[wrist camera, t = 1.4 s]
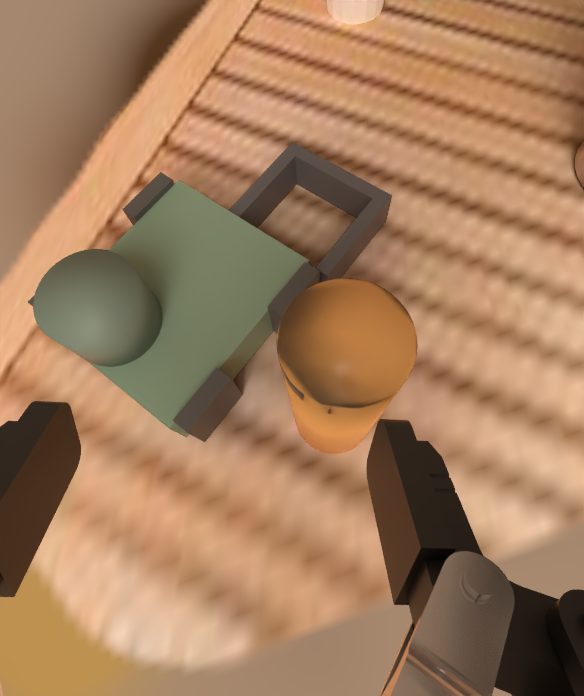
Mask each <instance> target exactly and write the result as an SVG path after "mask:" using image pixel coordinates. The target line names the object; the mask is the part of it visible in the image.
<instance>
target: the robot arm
mask: <svg viewBox="0 0 584 696" xmlns="http://www.w3.org/2000/svg"><path fill="white" fill-rule="evenodd" d="M575 169H576V173H577V177H578V179H579V181H580V182H581V184H582V186H583V187H584V141H583V142H582V144H581V145H580V147H579V148H578V150H577V153H576V156H575ZM80 455H81V444H80V440H79V436H78V433H77V429H76V425H75V422H74V418H73V414H72V411H71V407H70V405H69V404H68V403H64V402H44V401H34V402H32V403H31V404H30V405H29V406H28V408H27V409H26V410H25V412H24V413H23V415H22V416H21V417H20V419H19V420H18V421H8V422H6V423H5V424H4V425H2V426H1V427H0V597H14V596H15V594H16V592H17V590H18V588H19V586H20V584H21V582H22V580H23V578H24V576H25V574H26V572H27V570H28V568H29V566H30V564H31V562H32V560H33V558H34V556H35V553H36V551H37V549H38V547H39V545H40V543H41V541H42V539H43V537H44V535H45V533H46V531H47V529H48V527H49V525H50V523H51V521H52V519H53V517H54V515H55V513H56V510H57V508H58V506H59V504H60V502H61V500H62V498H63V496H64V494H65V492H66V490H67V488H68V486H69V484H70V482H71V480H72V478H73V476H74V474H75V472H76V469H77V467H78V464H79V461H80ZM367 480H368V485H369V489H370V494H371V499H372V504H373V508H374V513H375V518H376V522H377V527H378V532H379V536H380V541H381V546H382V551H383V555H384V560H385V565H386V569H387V574H388V579H389V583H390V588H391V593H392V598H393V602H394V605H409V607H410V611H411V615H412V620H413V621H412V623H411V624H410V627H409V629H408V631H407V634H406V636H405V638H404V640H403V643H402V645H401V647H400V649H399V652H398V654H397V656H396V659H395V661H394V663H393V665H392V668H391V670H390V673H389V675H388V677H387V679H386V681H385V684H384V686H383V688H382V690H381V693H380V695H379V696H492V693H493V689H494V687H496V688H498V689H500V690H503V691H506V692H508V693H510V694H511V695H512V696H584V590H570V591H568V592H566V593H564V594H563V596H562V597H561V598H560V599H556V598H553V597H550V596H547V595H544V594H542V593H538V592H536V591H533V590H530V589H527V588H524V587H522V586H519V585H517V584H515V583H513V582H511V581H509V580H508V579H507V577H506V576H505V574H504V573H503V572H502V571H501V570H500V568H499V567H497V566H496V565H495V564H494V563H493V562H492V561H490V560H489V559H487V558H486V557H484V556H483V554H482V552H481V550H480V548H479V546H478V544H477V541H476V539H475V536H474V534H473V531H472V529H471V527H470V524H469V522H468V519H467V517H466V514H465V512H464V510H463V507H462V505H461V502H460V500H459V497H458V495H457V493H455V488H454V485H453V483H452V480H451V478H449V473H448V471H447V468H446V466H445V463H444V461H443V459H442V457H441V455H440V454H439V453H438V452H437V451H436V450H435V449H434V448H433V446H432V445H431V444H430V443H429V442H428V441H417V439H416V437H415V434H414V431H413V428H412V426H411V424H410V422H409V421H407V420H387V419H380V420H379V421H378V424H377V427H376V430H375V434H374V437H373V441H372V444H371V448H370V451H369V455H368V459H367ZM0 696H3V693H2V687H1V683H0Z"/></svg>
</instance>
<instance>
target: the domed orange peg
mask: <svg viewBox="0 0 584 696" xmlns="http://www.w3.org/2000/svg"><path fill="white" fill-rule="evenodd" d="M277 352H278V357H279V361H280V365H281V368H282V372H283V376H284V380H285V383H286V387H287V391H288V394H289V398H290V402H291V406H292V409H293V413H294V417H295V420H296V424H297V427H298V430H299V432H300V434H301V436H302V437H303V439H304V440H305V441H306V442H307V443H308V444H309V445H310V446H312V447H313V448H315V449H317V450H319V451H321V452H324V453H330V454H337V453H343V452H346V451H349V450H351V449H353V448H354V447H356V446H357V445H358V444H359V443H360V442H361V441H362V440H363V439H364V438H365V436H366V435H367V434H368V432H369V431H370V429H371V428H372V427H373V425H374V424H375V422H376V421H377V420H378V418H379V417H380V416H381V414H382V413H383V411H384V410H385V409H386V407H387V406H388V405H389V403H390V402H391V400H392V399H393V398H394V396H395V395H396V394H397V392H398V391H399V389H400V388H401V387H402V385H403V384H404V383H405V381H406V380H407V378H408V376H409V375H410V373H411V371H412V368H413V366H414V363H415V359H416V355H417V336H416V331H415V327H414V324H413V321H412V319H411V317H410V315H409V313H408V312H407V310H406V309H405V307H404V306H403V305H402V304H401V303H400V301H399V300H398V299H397V298H395V297H394V296H393V295H392V294H391V293H389V292H388V291H386V290H385V289H383V288H381V287H379V286H377V285H375V284H373V283H370V282H367V281H363V280H358V279H347V278H342V279H333V280H328V281H324V282H321V283H318V284H316V285H314V286H312V287H310V288H308V289H307V290H305V291H304V292H302V293H301V294H300V295H299V296H297V297H296V298H295V299H294V300H293V301H292V302H291V304H290V305H289V306H288V308H287V309H286V311H285V313H284V315H283V316H282V319H281V321H280V324H279V328H278V332H277Z"/></svg>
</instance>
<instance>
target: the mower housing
mask: <svg viewBox="0 0 584 696" xmlns="http://www.w3.org/2000/svg"><path fill="white" fill-rule="evenodd" d="M296 184H298V185H300V186H301V187H303V188H305V189H307V190H308V191H310V192H312V193H314V194H315V195H317V196H319V197H321V198H323V199H324V200H326V201H328V202H330V203H331V204H333V205H335V206H337V207H338V208H340V209H342V210H344V211H345V212H347V213H349V214H351V215H352V216H354V217H356V219H355V221H354V222H353V223H352V224H351V226H350V227H349V228H348V229H347V230H346V232H345V233H344V234H343V235H342V236H341V238H340V239H339V240H338V241H337V243H336V244H335V245H334V246H333V247H332V249H331V250H330V251H329V252H328V254H327V255H326V256H325V257H324V258H323V260H322V261H321V262H320V263H319V264H318V266H317V267H316V268H314V267H312V266H311V265H310V263H309V260H308V259H306V258H305V257H303V256H301V255H300V254H298V253H296V252H295V251H293V250H292V249H290V248H288V247H287V246H285V245H283V244H282V243H280V242H279V241H277V240H275V239H274V238H272V237H271V236H269V235H267V234H266V233H264V232H262V231H261V230H259V229H258V227H259V226H260V224H261V223H262V222H263V221H264V220H265V219H266V218H267V217H268V216H269V214H270V213H271V212H272V211H273V210H274V209H275V208H276V207H277V206H278V204H279V203H280V202H281V201H282V200H283V199H284V198H285V197H286V196H287V194H288V193H289V192H290V191H291V190H292V189H293V188H294V187H295V185H296ZM391 198H392V195H390V194H388V193H386V192H384V191H383V190H381V189H379V188H377V187H375V186H373V185H371V184H370V183H368V182H366V181H364V180H362V179H360V178H358V177H357V176H355V175H353V174H351V173H349V172H347V171H345V170H344V169H342V168H340V167H338V166H336V165H334V164H332V163H331V162H329V161H327V160H325V159H323V158H321V157H319V156H318V155H316V154H314V153H312V152H310V151H308V150H306V149H304V148H303V147H301V146H299V145H297V144H295V143H293V142H292V143H291V144H290V145H289V146H288V147H287V148H286V150H285V151H284V152H283V153H282V154H281V155H280V156H279V157H278V158H277V159H276V160H275V161H274V162H273V163H272V164H271V166H270V167H269V168H268V169H267V170H266V171H265V172H264V173H263V174H262V175H261V176H260V177H259V178H258V179H257V181H256V182H255V183H254V184H253V185H252V186H251V187H250V188H249V189H248V190H247V191H246V192H245V193H244V194H243V196H242V197H241V198H240V199H239V200H238V201H237V202H236V203H235V204H234V205H233V206H232V207H231V208H230V209H229V211H228V210H227V209H225V208H224V207H222V206H220V205H219V204H217V203H216V202H214V201H212V200H211V199H209V198H207V197H206V196H204V195H203V194H201V193H199V192H198V191H196V190H194V189H193V188H191V187H190V186H188V185H186V184H185V183H183V182H182V181H180V180H179V181H178V182H177V183H176V184H174V182H173V180H172V179H171V178H169V177H167V176H166V175H164V174H163V173H161V172H160V173H159V174H158V175H157V176H156V177H155V178H154V179H153V180H152V181H151V182H150V183H149V184H148V185H147V186H146V187H145V188H144V189H143V190H142V191H141V192H140V193H139V194H138V195H137V196H136V197H135V198H134V199H133V200H132V201H131V202H130V203H129V204H128V205H127V206H126V207H125V208H123V211H124V212H125V214H126V215H127V217H128V218H129V220H130V221H131V223H132V224H133V227H131V228H130V229H129V230H128V231H127V232H126V233H125V234H124V235H123V236H122V237H121V238H120V239H119V240H118V241H117V242H116V243H115V244H114V245H113V246H112V247H111V248H110V249H109V250H102V249H91V250H84V251H80V252H77V253H74V254H72V255H69V256H67V257H65V258H64V259H62V260H60V261H59V262H58V263H56V264H55V265H54V266H53V267H52V268H51V269H50V270H49V271H48V272H47V273H46V274H45V275H44V277H43V278H42V280H41V281H40V283H39V285H38V287H37V290H36V293H35V295H34V296H33V297H32V298H31V299H30V300H29V301H28V303H29V304H31V305H32V306H33V310H34V316H35V319H36V322H37V324H38V326H39V327H40V329H41V330H42V331H43V332H44V333H45V334H46V335H47V336H49V337H50V338H51V339H53V340H55V341H56V342H58V343H60V344H61V345H63V346H64V347H66V348H68V349H69V350H71V351H73V352H74V353H76V354H77V355H79V356H81V357H82V358H84V359H86V360H87V361H88V362H89V363H91V364H92V365H93V366H94V367H95V368H97V369H98V370H99V371H100V372H101V373H103V374H104V375H105V376H106V377H107V378H109V379H110V380H111V381H112V382H114V383H115V384H116V385H117V386H118V387H120V388H121V389H122V390H123V391H124V392H126V393H127V394H128V395H129V396H130V397H132V398H133V399H134V400H135V401H137V402H138V403H139V404H140V405H141V406H143V407H144V408H145V409H146V410H147V411H149V412H150V413H151V414H152V415H154V416H155V417H156V418H157V419H158V420H160V421H161V422H162V423H163V424H164V425H166V426H167V427H168V428H169V429H171V430H173V431H175V432H177V433H179V434H181V435H183V436H185V437H187V436H188V435H189V434H191V435H193V436H195V437H196V438H198V439H200V440H202V441H204V442H205V441H206V440H207V439H208V438H209V436H210V435H211V434H212V433H213V431H214V430H215V429H216V428H217V426H218V425H219V424H220V423H221V421H222V420H223V419H224V418H225V416H226V415H227V414H228V413H229V411H230V410H231V409H232V407H233V406H234V405H235V404H236V402H237V401H238V400H239V399H240V397H241V396H242V395H243V394H242V393H241V391H240V390H239V389H238V387H237V386H236V384H235V383H234V381H233V380H234V379H235V377H236V376H237V375H238V374H239V372H240V371H241V370H242V369H243V368H244V366H245V365H246V364H247V363H248V361H249V360H250V359H251V358H252V356H253V355H254V354H255V353H256V352H257V350H258V349H259V348H260V347H261V345H262V344H263V343H264V342H265V341H266V339H267V338H268V337H269V336H270V334H271V333H272V332H273V331H275V332H276V333H277V332H278V328H279V324H280V321H281V319H282V316H283V315H284V313H285V311H286V309H287V308H288V306H289V305H290V304H291V302H292V301H293V300H294V299H295V298H296V297H297V296H299V295H300V294H301V293H302V292H304V291H305V290H307V289H308V288H310V287H312V286H314V285H316V284H318V283H321V282H324V281H328V280H333V279H341V277H342V276H343V275H344V274H345V272H346V271H347V270H348V268H349V267H350V266H351V265H352V263H353V262H354V261H355V260H356V258H357V257H358V256H359V255H360V253H361V252H362V251H363V250H364V248H365V247H366V246H367V245H368V243H369V242H370V241H371V240H372V238H373V237H374V236H375V235H376V233H377V232H378V231H379V230H380V228H381V227H382V226H383V224H384V223H385V222H386V219H387V215H388V210H389V206H390V202H391Z"/></svg>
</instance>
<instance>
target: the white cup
mask: <svg viewBox="0 0 584 696" xmlns="http://www.w3.org/2000/svg"><path fill="white" fill-rule="evenodd" d="M326 4H327V10H328V13H329V14H330V15H331V16H332V18H333V19H335V20H337V21H339V22H341V23H346V24H361V23H366V22H368V21H371V20H373V19H375V18H376V17H377V16H378V15H379V14H380V13H381V11H382V8H383V4H384V0H326Z"/></svg>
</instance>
